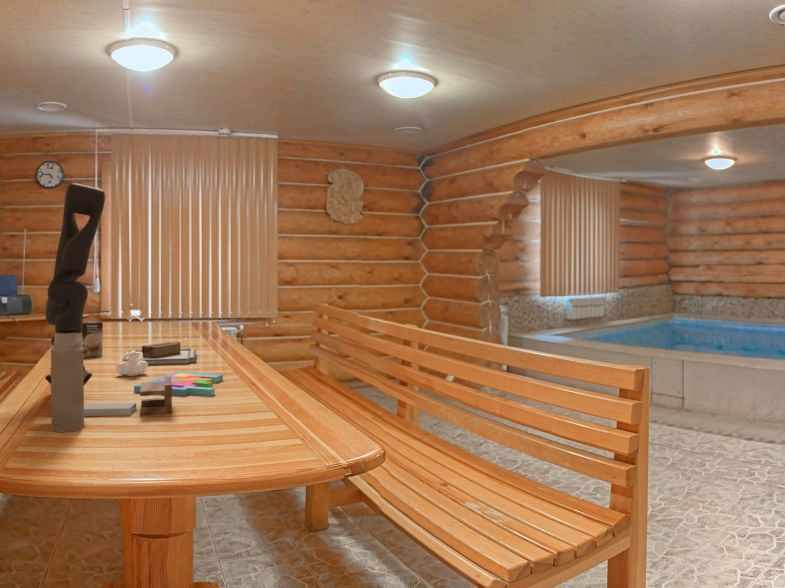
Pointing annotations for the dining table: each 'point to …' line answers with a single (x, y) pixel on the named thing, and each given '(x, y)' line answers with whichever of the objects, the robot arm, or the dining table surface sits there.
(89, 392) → the dining table surface
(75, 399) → the thermos bottle
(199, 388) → the tetris game
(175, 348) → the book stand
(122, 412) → the tile
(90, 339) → the coffee box
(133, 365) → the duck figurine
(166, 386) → the shelf
